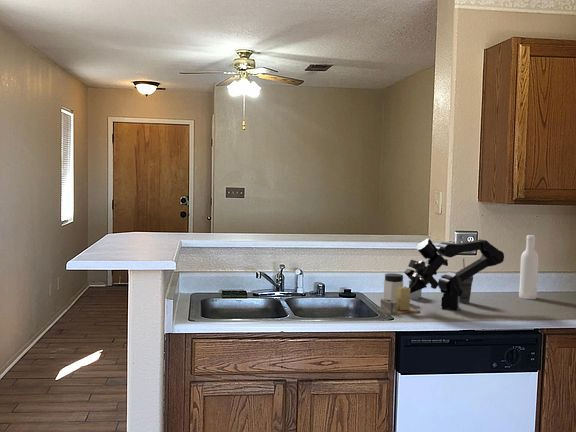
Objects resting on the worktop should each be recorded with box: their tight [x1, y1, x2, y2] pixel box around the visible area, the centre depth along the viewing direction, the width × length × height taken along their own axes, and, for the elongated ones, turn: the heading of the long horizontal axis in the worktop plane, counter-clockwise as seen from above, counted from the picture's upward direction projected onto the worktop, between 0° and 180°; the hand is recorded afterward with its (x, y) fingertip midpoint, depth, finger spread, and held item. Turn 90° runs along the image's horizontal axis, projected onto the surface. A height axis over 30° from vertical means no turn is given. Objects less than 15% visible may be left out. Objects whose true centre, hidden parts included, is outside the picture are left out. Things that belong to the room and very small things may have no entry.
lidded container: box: [383, 272, 404, 302], centre depth 270 cm, size 9×8×12 cm
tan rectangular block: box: [395, 285, 411, 310], centre depth 249 cm, size 9×4×9 cm, turn 109°
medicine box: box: [408, 279, 423, 301], centre depth 278 cm, size 8×4×9 cm, turn 155°
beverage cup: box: [459, 258, 474, 304], centre depth 270 cm, size 7×7×20 cm
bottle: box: [518, 234, 540, 300], centre depth 284 cm, size 8×8×30 cm
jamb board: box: [379, 298, 421, 316], centre depth 250 cm, size 14×8×5 cm, turn 109°
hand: (408, 293), depth 250 cm, fingers closed, pressing on tan rectangular block
